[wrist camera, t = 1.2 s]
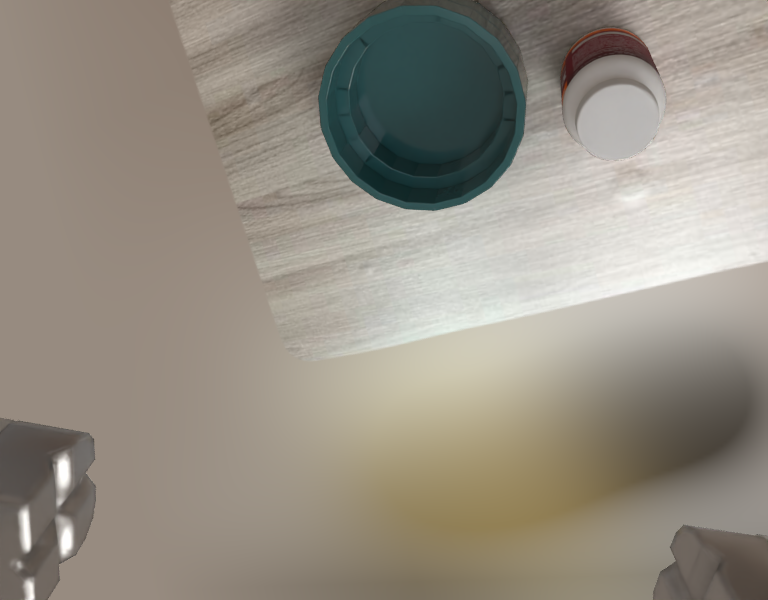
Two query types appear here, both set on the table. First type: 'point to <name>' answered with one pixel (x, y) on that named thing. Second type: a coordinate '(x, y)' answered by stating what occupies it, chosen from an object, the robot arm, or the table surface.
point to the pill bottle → (611, 94)
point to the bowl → (425, 102)
